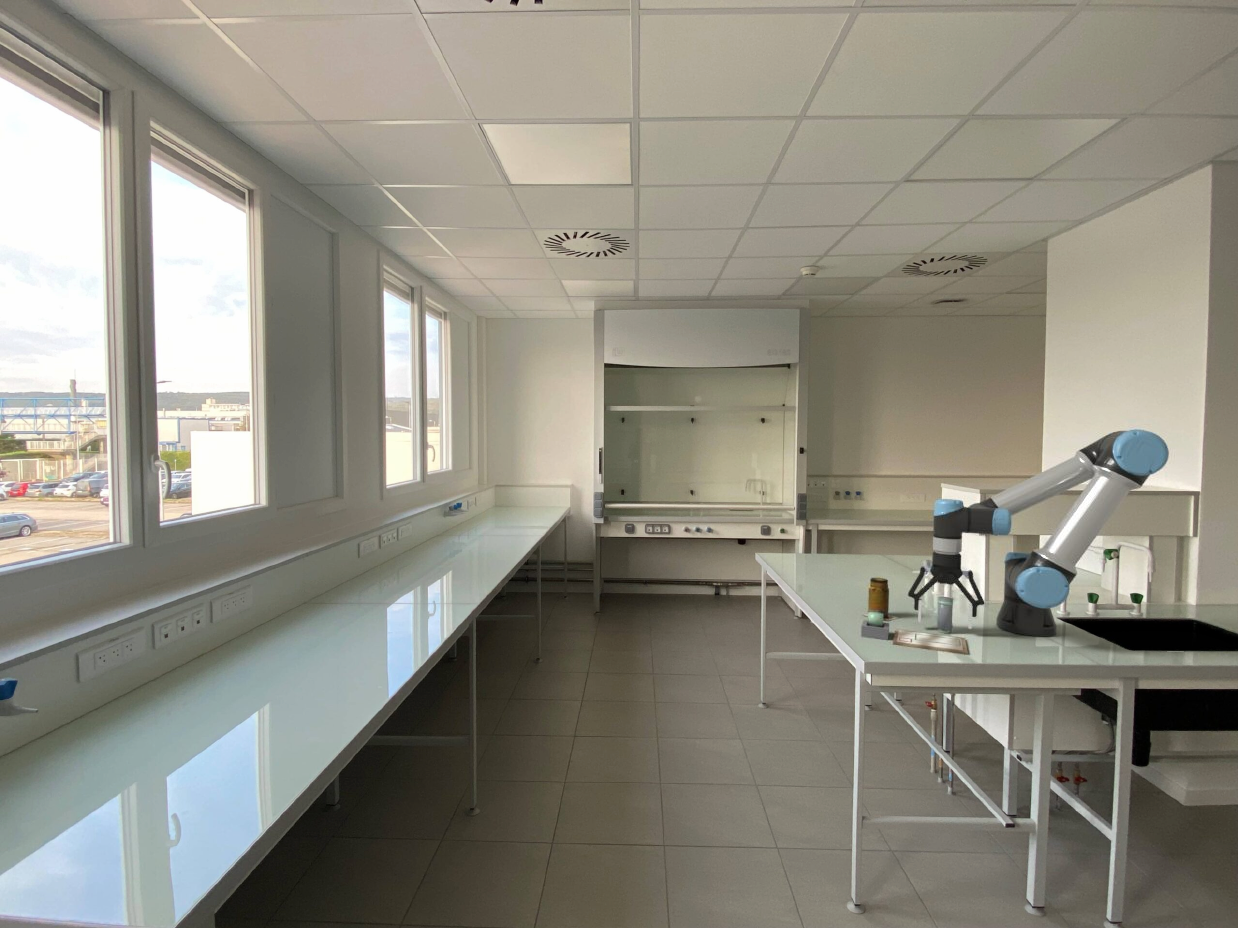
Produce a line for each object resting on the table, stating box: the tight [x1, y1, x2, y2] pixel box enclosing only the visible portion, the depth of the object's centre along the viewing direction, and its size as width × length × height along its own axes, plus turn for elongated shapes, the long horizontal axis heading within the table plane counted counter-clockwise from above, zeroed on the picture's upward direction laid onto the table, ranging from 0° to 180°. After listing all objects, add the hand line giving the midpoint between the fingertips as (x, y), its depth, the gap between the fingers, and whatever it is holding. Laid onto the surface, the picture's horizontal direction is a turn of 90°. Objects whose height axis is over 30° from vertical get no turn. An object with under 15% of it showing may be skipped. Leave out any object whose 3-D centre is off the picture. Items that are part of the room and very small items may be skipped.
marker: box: [936, 596, 954, 634], centre depth 187 cm, size 4×4×10 cm
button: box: [867, 612, 884, 626], centre depth 183 cm, size 4×4×3 cm
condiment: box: [863, 577, 899, 621], centre depth 203 cm, size 7×8×12 cm
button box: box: [860, 619, 890, 641], centre depth 183 cm, size 7×7×3 cm
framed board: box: [892, 628, 968, 656], centre depth 177 cm, size 18×14×1 cm
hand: (944, 624), depth 187 cm, fingers open, 12 cm apart
